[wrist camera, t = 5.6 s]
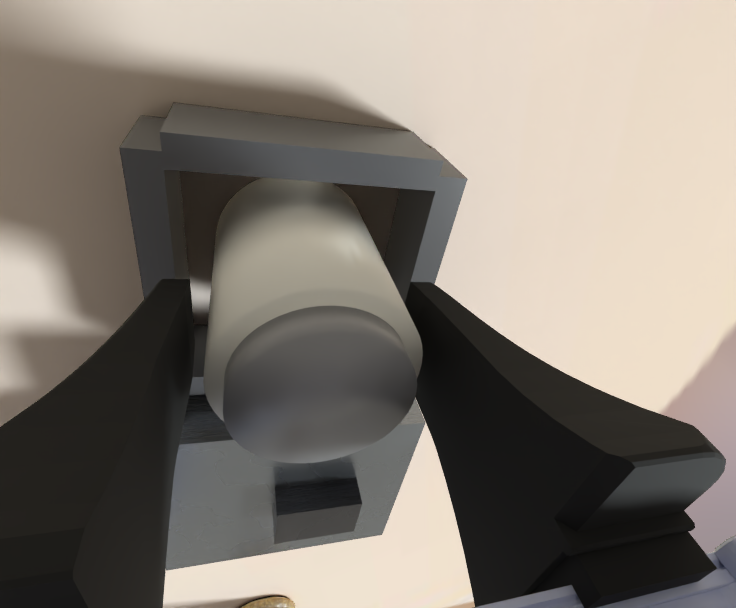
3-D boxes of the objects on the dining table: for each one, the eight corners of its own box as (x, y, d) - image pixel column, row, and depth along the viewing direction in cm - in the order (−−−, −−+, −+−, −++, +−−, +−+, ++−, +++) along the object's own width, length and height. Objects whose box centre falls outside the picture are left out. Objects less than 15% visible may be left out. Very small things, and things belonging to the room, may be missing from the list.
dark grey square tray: (173, 363, 16) (164, 417, 14) (138, 98, 11) (116, 126, 9) (380, 355, 18) (397, 400, 16) (437, 134, 13) (472, 163, 11)
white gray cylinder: (216, 301, 15) (204, 484, 9) (214, 163, 12) (195, 314, 7) (351, 303, 16) (404, 462, 11) (377, 180, 13) (465, 315, 8)
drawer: (129, 483, 19) (102, 609, 16) (94, 354, 15) (43, 489, 11) (362, 457, 23) (387, 557, 19) (393, 344, 18) (435, 447, 14)
